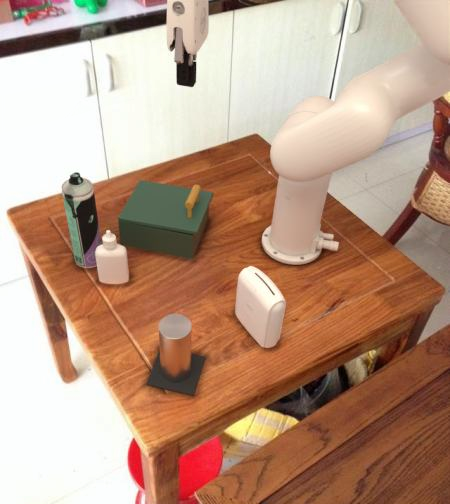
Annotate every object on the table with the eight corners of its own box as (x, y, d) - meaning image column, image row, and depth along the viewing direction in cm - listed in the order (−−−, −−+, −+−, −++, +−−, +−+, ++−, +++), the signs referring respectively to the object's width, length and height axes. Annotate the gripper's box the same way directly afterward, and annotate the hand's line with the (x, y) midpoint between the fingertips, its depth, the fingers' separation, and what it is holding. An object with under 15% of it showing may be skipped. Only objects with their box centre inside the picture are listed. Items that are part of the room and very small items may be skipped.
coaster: (205, 357, 96) (205, 356, 96) (193, 396, 91) (193, 395, 90) (160, 347, 97) (160, 346, 97) (146, 385, 91) (146, 384, 91)
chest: (208, 220, 121) (209, 196, 116) (192, 260, 112) (192, 236, 107) (141, 207, 122) (140, 183, 117) (120, 246, 114) (118, 221, 109)
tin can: (194, 361, 95) (195, 317, 86) (186, 385, 91) (186, 341, 83) (165, 355, 95) (164, 310, 87) (156, 378, 92) (154, 334, 84)
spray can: (101, 270, 109) (88, 185, 94) (72, 268, 108) (55, 183, 94) (105, 251, 112) (94, 166, 98) (78, 249, 112) (62, 164, 97)
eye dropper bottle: (108, 267, 109) (102, 219, 100) (133, 277, 108) (128, 229, 99) (95, 281, 107) (87, 233, 98) (120, 291, 105) (114, 244, 96)
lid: (213, 195, 115) (213, 176, 112) (197, 235, 107) (196, 215, 103) (140, 183, 117) (138, 164, 114) (118, 221, 109) (115, 202, 105)
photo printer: (230, 313, 103) (235, 265, 94) (250, 305, 105) (256, 256, 96) (262, 352, 97) (270, 305, 88) (282, 343, 99) (292, 295, 90)
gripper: (197, -9, 82) (195, 107, 95) (221, -41, 92) (216, 69, 105) (148, -17, 83) (153, 100, 96) (177, -47, 93) (177, 63, 106)
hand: (186, 83), depth 101 cm, fingers closed
